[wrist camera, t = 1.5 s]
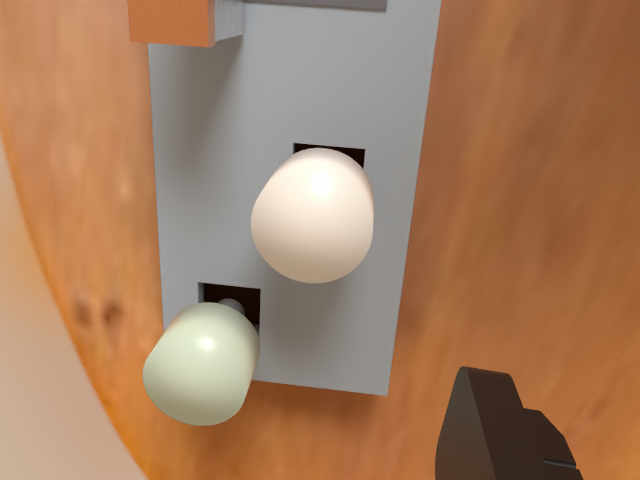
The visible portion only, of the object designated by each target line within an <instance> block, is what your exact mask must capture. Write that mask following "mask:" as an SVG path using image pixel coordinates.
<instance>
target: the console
mask: <svg viewBox="0 0 640 480" xmlns="http://www.w3.org/2000/svg"><path fill="white" fill-rule="evenodd" d="M440 7H441V0H244V34H242V35H238V36H234V37H231V38H227V39H223V40H219V41H215V46H212V47H195V46H182V45H169V44H156V43H148V55H149V73H150V91H151V109H152V127H153V145H154V163H155V181H156V199H157V217H158V235H159V253H160V271H161V289H162V307H163V325H164V332H165V331H166V329H167V328H168V326H169V324H170V323H171V321H172V320H173V319H174V317H175V316H176V315H177V314H178V313H179V312H180V311H181V310H183V309H184V308H186V307H188V306H190V305H193V304H197V303H205V290H204V283H211V284H220V285H229V286H239V287H248V288H257V289H261V296H260V324H256V323H251V324H252V325H253V327H254V328H255V330H256V332H257V334H258V337H259V340H260V348H261V350H260V356H259V360H258V363H257V366H256V368H255V371H254V374H253V377H252V380H256V381H265V382H273V383H282V384H290V385H298V386H307V387H315V388H324V389H332V390H340V391H349V392H357V393H366V394H374V395H382V396H387V394H388V387H389V379H390V372H391V365H392V357H393V350H394V343H395V336H396V328H397V321H398V314H399V306H400V299H401V292H402V284H403V277H404V270H405V263H406V255H407V248H408V241H409V233H410V226H411V219H412V211H413V204H414V197H415V190H416V182H417V175H418V168H419V160H420V153H421V146H422V138H423V131H424V124H425V117H426V109H427V102H428V95H429V87H430V80H431V73H432V65H433V58H434V51H435V44H436V36H437V29H438V22H439V14H440ZM296 143H301V144H313V145H324V146H336V147H347V148H358V149H365V158H364V168H363V170H364V171H365V172H366V174H367V176H368V178H369V179H370V182H371V184H372V187H373V192H374V220H373V236H372V241H371V245H370V248H369V250H368V252H367V254H366V256H365V257H364V259H363V260H362V262H361V263H360V264H359V265H358V266H357V267H356V268H355V269H354V270H353V271H351V272H350V273H348V274H347V275H345V276H343V277H341V278H339V279H336V280H333V281H330V282H325V283H305V282H300V281H296V280H293V279H290V278H288V277H286V276H284V275H282V274H280V273H279V272H277V271H276V270H275V269H273V268H272V267H271V266H270V265H269V264H268V263H267V262H266V261H265V260H264V259H263V257H262V256H261V254H260V253H259V251H258V249H257V247H256V245H255V243H254V240H253V236H252V231H251V215H252V211H253V207H254V205H255V202H256V200H257V198H258V196H259V195H260V193H261V191H262V190H263V188H264V187H265V185H266V184H267V182H268V180H269V179H270V177H271V176H272V174H273V173H274V171H275V170H276V168H277V167H278V166H279V165H280V164H281V163H282V162H283V161H284V160H285V159H286V158H288V157H289V156H291V155H293V154H294V153H295V144H296Z"/></svg>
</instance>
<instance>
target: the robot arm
mask: <svg viewBox="0 0 640 480" xmlns="http://www.w3.org/2000/svg"><path fill="white" fill-rule="evenodd" d="M435 478H436V480H583V478H582V476H581V473H580V471H579V470H578V469H576V462H575V460H574V458H573V456H572V453H571V451H570V449H569V447H568V445H567V442H566V440H565V438H564V436H563V435H562V434H561V433H560V432H559V431H558V430H557V429H556V427H555V426H554V425H553V424H552V423H551V422H550V421H549V420H548V419H547V418H546V417H545V416H544V415H543V414H542V412H541V411H538V410H532V409H526V408H523V406H522V403H521V400H520V398H519V395H518V393H517V390H516V387H515V385H514V382H513V380H512V377H511V376H510V375H509V374H507V373H501V372H495V371H489V370H483V369H477V368H471V367H465V366H462V367H461V368H460V369H459V371H458V373H457V376H456V379H455V382H454V386H453V390H452V393H451V397H450V400H449V404H448V407H447V411H446V414H445V418H444V422H443V425H442V429H441V432H440V436H439V440H438V444H437V450H436V461H435Z"/></svg>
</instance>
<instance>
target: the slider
mask: <svg viewBox="0 0 640 480" xmlns="http://www.w3.org/2000/svg"><path fill="white" fill-rule="evenodd" d="M128 14H129V29H130V42H143V43H156V44H169V45H182V46H195V47H212V46H215V41H219V40H223V39H227V38H231V37H234V36H238V35H242V34H244V0H128Z"/></svg>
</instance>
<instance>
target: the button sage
mask: <svg viewBox="0 0 640 480" xmlns="http://www.w3.org/2000/svg"><path fill="white" fill-rule="evenodd" d="M260 350H261V348H260V340H259V337H258V334H257V332H256V330H255V328H254V327H253V325H252V324H251V322H250V321H249V320H248V319H247V318H246V317H245V310H244V308H243V306H242V305H241V304H240V303H239V302H238V301H236V300H234V299H229V298H226V299H222V300H220V301H219V302H217V303H210V302H205V303H197V304H193V305H190V306H188V307H186V308H184V309H183V310H181V311H180V312H179V313H178V314H177V315H176V316H175V317H174V319H173V320H172V321H171V323H170V324H169V326H168V328H167V329H166V331H165V332H164V334H163V335H162V337H161V338H160V340H159V341H158V343H157V344H156V346H155V347H154V349H153V350H152V352H151V353H150V355H149V356H148V358H147V360H146V362H145V365H144V368H143V382H144V386H145V389H146V392H147V394H148V396H149V397H150V399H151V400H152V402H153V403H154V404H155V405H156V406H157V407H158V408H159V409H160V410H161V411H162V412H164V413H165V414H166V415H168V416H169V417H171V418H173V419H175V420H177V421H180V422H182V423H186V424H190V425H195V426H210V425H216V424H219V423H222V422H225V421H227V420H228V419H230V418H231V417H233V416H234V415H235V414H236V413H237V412H238V411H239V410H240V408H241V407H242V405H243V402H244V400H245V397H246V394H247V391H248V388H249V386H250V383H251V380H252V377H253V374H254V371H255V368H256V366H257V363H258V360H259V356H260Z"/></svg>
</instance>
